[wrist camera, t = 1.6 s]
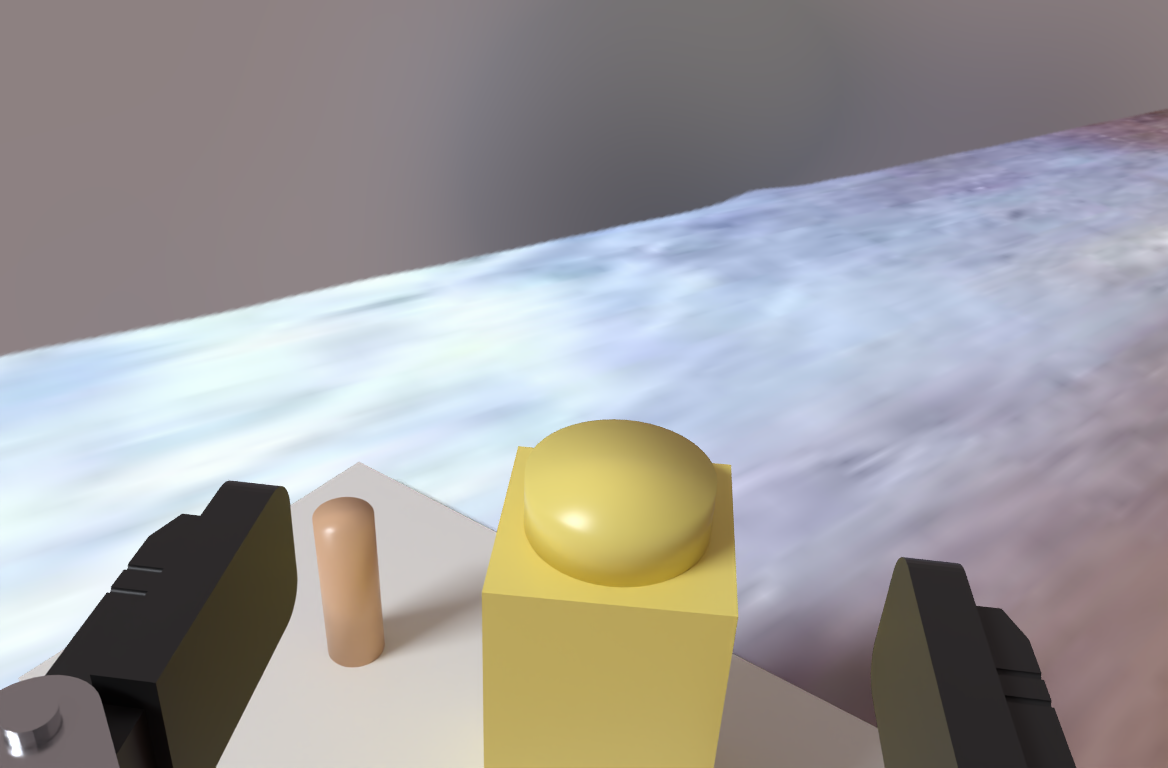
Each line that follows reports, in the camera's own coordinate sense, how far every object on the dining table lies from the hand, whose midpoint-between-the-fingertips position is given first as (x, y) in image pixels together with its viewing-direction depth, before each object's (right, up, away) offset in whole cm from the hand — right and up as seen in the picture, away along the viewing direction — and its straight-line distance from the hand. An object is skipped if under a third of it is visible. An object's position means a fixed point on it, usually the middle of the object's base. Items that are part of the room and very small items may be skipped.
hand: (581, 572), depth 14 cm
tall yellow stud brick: (0, -10, +19) cm, 22 cm away
